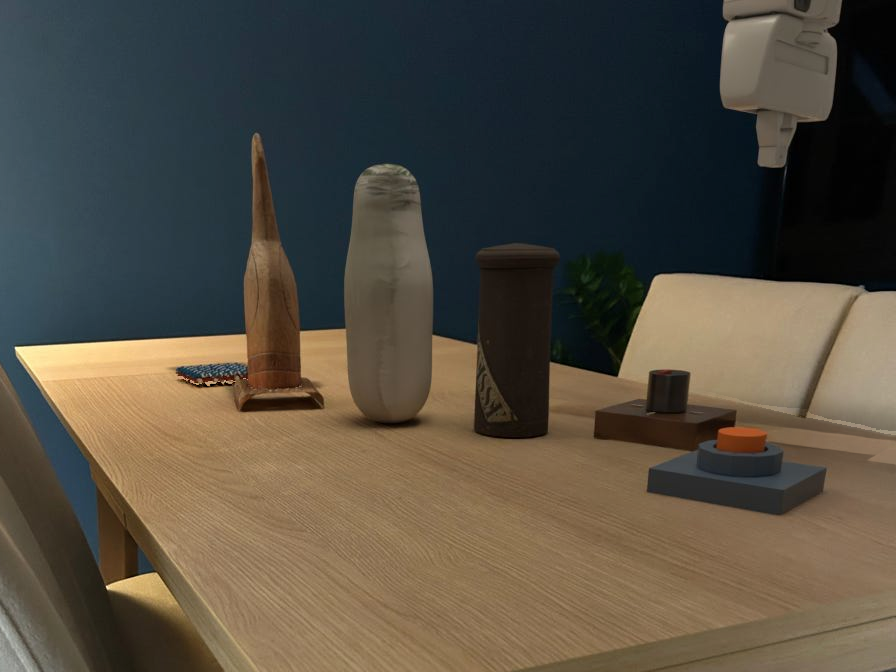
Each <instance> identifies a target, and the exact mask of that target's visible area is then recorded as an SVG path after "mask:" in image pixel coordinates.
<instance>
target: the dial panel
mask: <svg viewBox="0 0 896 672" xmlns="http://www.w3.org/2000/svg"><path fill="white" fill-rule="evenodd" d="M646 400H647V398H646V399H645V398H636V399H633V400H629V401H625V402H622V403H618V404H614V405H611V406H606V407H603V408H599V409H596V410H595V412H594V427H593V438H595V437H596V439H603V440H612V441H619V442H625V443H632V444H639V445H646V446H653V447H659V448H660V447H661V448H668V449H674V450H680V451H689V452H693V451H695V450H698V445H699V444H700V443H703V442H705V441H709V440H717V438H718V431H719V429H722V428H729V427H736V420H737V411H738V410H737V409H733V408H732V409H731V408H723V407H714V406H708V405H707V406H706V405H699V404H689V403H687V410H686V411H684V412H680V413H660V412H653V411H649V410H647V409H646Z"/></svg>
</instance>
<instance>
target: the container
mask: <svg viewBox="0 0 896 672" xmlns="http://www.w3.org/2000/svg"><path fill="white" fill-rule="evenodd" d="M560 260H561V254H560V252H559V251H558V250H556V248H553V247H547V246H542V245H536V244H528V243H522V242H521V243H519V242H513V243H508V244H501V245H494V246H490V247H484V248H481V249H480V250H479V251H478V252H477V253H476V254H475V263H476V264H477V266H478V268H479V294H478V295H479V296H478V322H477V324H478V325H477V328H478V329H477V342H476V343H477V346H476V348H477V350H476V369H475V371H476V372H475V390H474V391H475V393H474V415H473V416H474V417H473V429H474V430H475V432H477V433H479V434H482V435H486V436H491V437H498V438H499V437H501V438H531V437H537V436H543V435H545V434H547V433H548V431H549V421H550V420H549V416H550V378H551V377H550V373H551V344H552V343H551V338H552V310H553V291H554V273H555V272H554V271H555V268H556V267H557V266H558V264H559V263H560Z"/></svg>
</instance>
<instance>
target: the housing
mask: <svg viewBox="0 0 896 672" xmlns="http://www.w3.org/2000/svg"><path fill="white" fill-rule="evenodd" d="M716 446H717V440H709V441H705V442H703V443H700V444H699V445H698V450H695V451H689V452H688V453H684V454H682V455H679V456H677V457H674V458H671V459H668V460H666V461H663V462H661V463H659V464H656V465H653V466H651V467H649V468H648V474H647V484H646V493H650V494H657V495H662V496H668V497H674V498H679V499H683V500H684V499H685V500H689V501H696V502H701V503H702V502H703V503H708V504H714V505H717V506H724V507H731V508H735V509H742V510H747V511H752V512H756V513H757V512H758V513H764V514H768V515H769V514H770V515H775V516H782V515H784V514H786V513H788V512H789V511H791V510H792V509H794V508H796V507H798V506H800V505H801V504H803V503H805V502H807V501H809V500H811V499H813V498H814V497H816V496H817V495H819V494H821V493H823V492H824V487H825V481H826V475H827V468H828V467H826V466H819V465H813V464H805V463H797V462H792V461H784V460H783V456H784V450H783V448H782V447H781V446H780V445H777V444H773V443H770V442H767V441H766V443H765V450H764V452H760V453H735V452H728V451H722V450H719V449H716Z"/></svg>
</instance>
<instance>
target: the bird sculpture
mask: <svg viewBox="0 0 896 672" xmlns="http://www.w3.org/2000/svg"><path fill="white" fill-rule="evenodd" d="M251 173H252V211H251V212H252V226H251V227H252V229H251V230H252V232H251V244H250V248H249V254H248V258H247V263H246V270H245V273H244V276H243V277H244V278H243V301H244V303H243V304H244V319H245V321H244V322H245V337H246V357H247V358H246V359H247V366H248V380H247V379H239V380H237V381H236V382H235V383H233V386H232V390H233V391H232V392H233V397H234V401H235V404H236V406H237V409H238V410H239V411H241V409H242V408H243V406H244V405H245V404H246V402H247V401H248V400H250V399H252V398H253V397H255V396H258V395H264V394H291V393H305V394H308V395H310V397H312V398H313V399H314V400H315V401H317V402H318V403H319V404H320V405H321V406H322V407H323V408H325V399H324V396H323V395H322V394H321V392H320V391H318V389H317V387H315V385H314V384H313V382H312V381H311V380H310V379H309V378H308V377H304V376H303V377H302V359H301V325H300V321H301V320H300V308H299V297H298V288H297V287H298V286H297V282H296V280H295V276H294V272H293V270H292V267H291V264H290V262H289V259H288V257H287V255H286V252H285V249H284V248H283V246H282V241H281V237H280V233H279V230H278V229H279V228H278V225H277V219H276V213H275V212H276V211H275V207H274V204H273V203H274V201H273V195H272V189H271V186H270V184H271V183H270V179H269V173H268V168H267V162H266V155H265V151H264V147H263V143H262V137H261V136H260V134H259V133H258V132H255V133H254V135H253V136H252V139H251Z"/></svg>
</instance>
